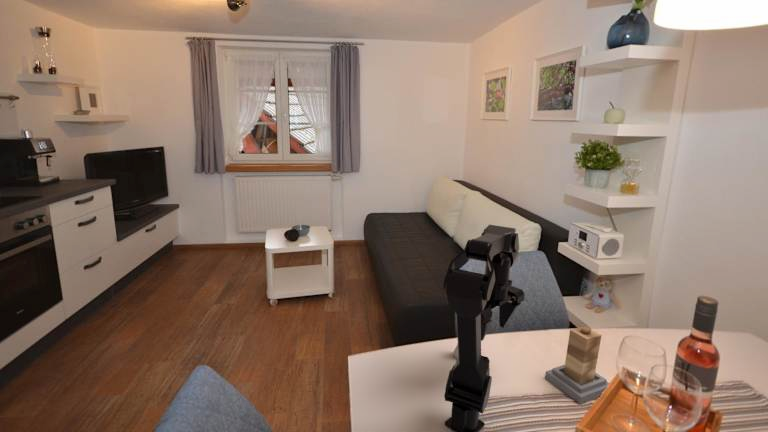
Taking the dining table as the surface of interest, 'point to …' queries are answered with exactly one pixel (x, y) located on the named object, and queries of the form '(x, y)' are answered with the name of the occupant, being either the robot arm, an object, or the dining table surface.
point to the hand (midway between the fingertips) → (491, 333)
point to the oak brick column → (582, 355)
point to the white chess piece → (456, 352)
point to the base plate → (577, 385)
